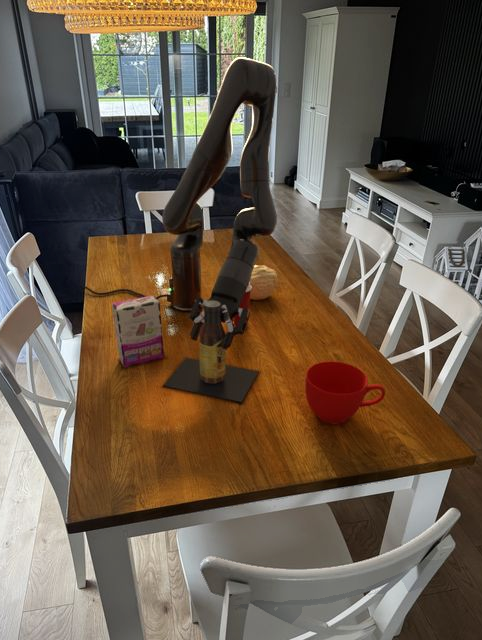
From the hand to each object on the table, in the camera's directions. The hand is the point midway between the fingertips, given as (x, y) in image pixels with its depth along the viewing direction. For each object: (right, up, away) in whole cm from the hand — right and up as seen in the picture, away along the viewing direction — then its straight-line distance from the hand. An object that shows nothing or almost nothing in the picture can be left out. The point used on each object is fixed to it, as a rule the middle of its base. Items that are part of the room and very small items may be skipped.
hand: (208, 344), depth 114 cm
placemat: (+1, -9, +6) cm, 11 cm away
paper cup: (+7, +5, +31) cm, 32 cm away
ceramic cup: (+30, -16, -6) cm, 34 cm away
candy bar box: (-18, -4, +15) cm, 24 cm away
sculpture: (+14, +17, +51) cm, 56 cm away
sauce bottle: (+1, -8, +6) cm, 11 cm away
